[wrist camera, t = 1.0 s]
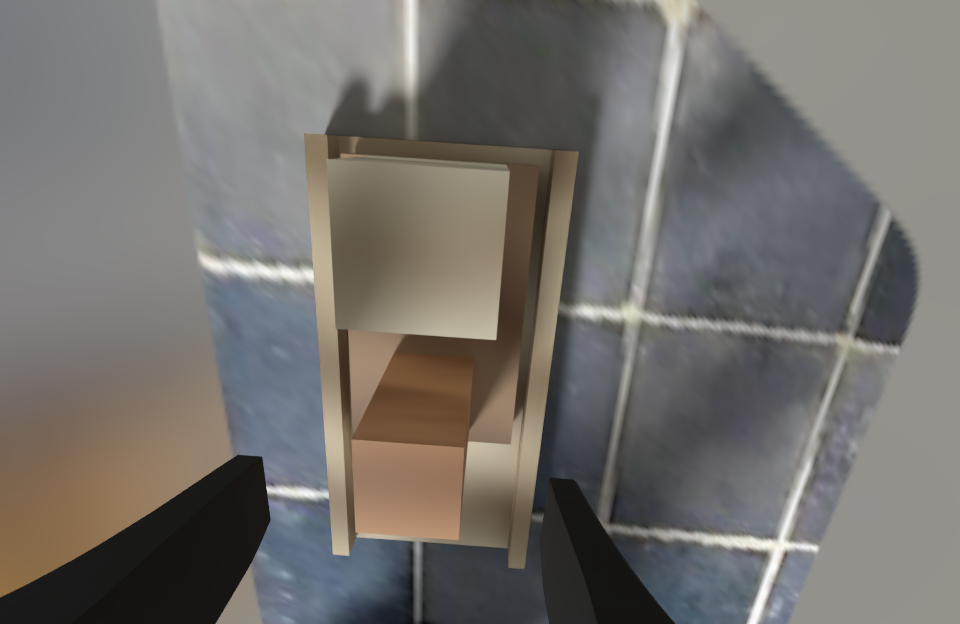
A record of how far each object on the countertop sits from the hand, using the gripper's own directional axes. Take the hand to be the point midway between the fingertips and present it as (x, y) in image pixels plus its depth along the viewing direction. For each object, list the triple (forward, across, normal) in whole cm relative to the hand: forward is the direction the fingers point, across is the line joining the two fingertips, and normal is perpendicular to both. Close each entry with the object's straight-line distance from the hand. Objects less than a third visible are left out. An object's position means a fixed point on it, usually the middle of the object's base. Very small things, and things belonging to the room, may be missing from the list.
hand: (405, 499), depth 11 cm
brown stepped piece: (+6, 0, -3) cm, 7 cm away
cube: (+5, 0, -6) cm, 8 cm away
